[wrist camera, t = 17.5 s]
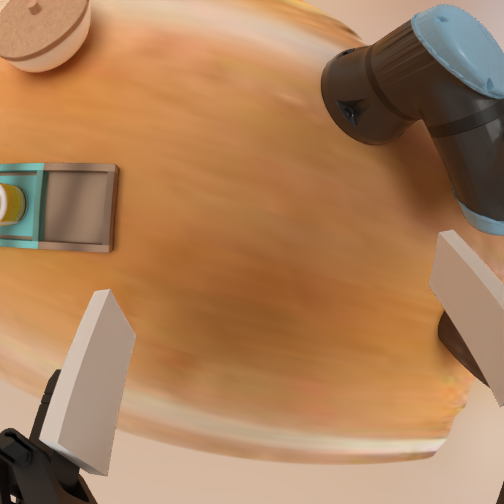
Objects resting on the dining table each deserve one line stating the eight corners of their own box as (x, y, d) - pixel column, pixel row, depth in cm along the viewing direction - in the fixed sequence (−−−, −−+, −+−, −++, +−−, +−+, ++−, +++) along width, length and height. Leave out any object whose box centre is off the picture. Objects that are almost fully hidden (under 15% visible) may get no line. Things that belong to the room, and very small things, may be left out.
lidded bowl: (3, 57, 27) (-29, 23, 16) (69, -1, 28) (54, -46, 18) (43, 103, 30) (10, 70, 20) (116, 38, 32) (107, -11, 21)
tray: (-55, 240, 28) (-67, 241, 25) (-51, 170, 27) (-62, 168, 24) (113, 250, 35) (108, 252, 32) (119, 168, 34) (115, 164, 31)
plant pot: (465, 347, 54) (521, 371, 39) (420, 370, 51) (480, 404, 35) (473, 280, 52) (536, 295, 37) (427, 294, 49) (500, 316, 33)
